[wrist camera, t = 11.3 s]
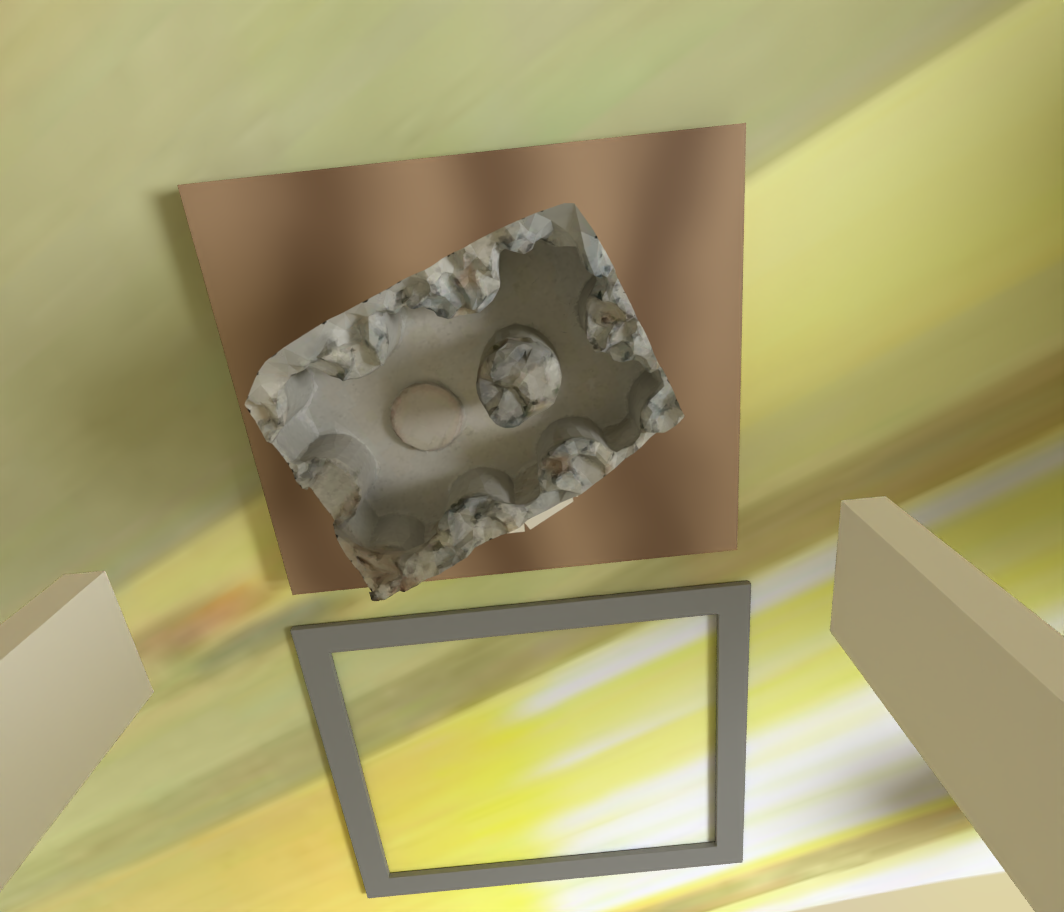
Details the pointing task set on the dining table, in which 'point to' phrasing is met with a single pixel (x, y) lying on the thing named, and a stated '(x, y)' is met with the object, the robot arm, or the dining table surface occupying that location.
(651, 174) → the walnut board
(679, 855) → the mat border
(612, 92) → the dining table surface
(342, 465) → the egg carton
